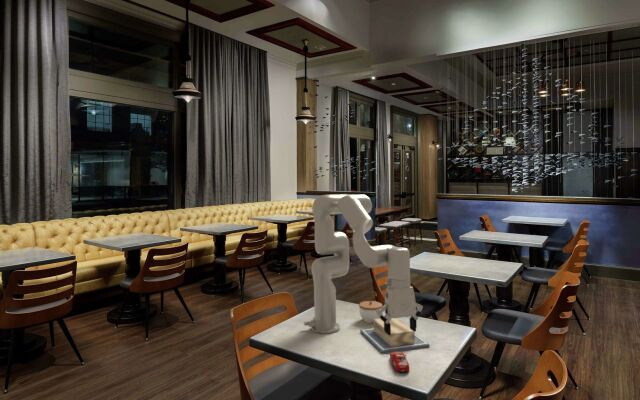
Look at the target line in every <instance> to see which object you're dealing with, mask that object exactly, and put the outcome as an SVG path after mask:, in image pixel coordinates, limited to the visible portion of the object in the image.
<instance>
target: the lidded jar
mask: <svg viewBox="0 0 640 400" xmlns="http://www.w3.org/2000/svg"><path fill="white" fill-rule="evenodd" d="M382 306H383V304H382V303H381V302H379V301H375V300H367V301H366V300H365V301H361V302H360V303H359V309H358V310H359V314H360V317H361V318H362V320H363V321H364V322H365V323H368V324H373V319H380V318H379V316H378V314H377V312H376V311H377V310H378V309H379V308H381V307H382Z"/></svg>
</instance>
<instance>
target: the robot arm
mask: <svg viewBox="0 0 640 400" xmlns="http://www.w3.org/2000/svg"><path fill="white" fill-rule="evenodd" d="M372 209H373V203H372V201H371V198H370V197H369V196H367V195H366V194H364V193H363V194H360V193H359V194H351V193H342V194H341V193H340V194H339V193H338V194H337V193H335V194H334V193H333V194H332V193H331V194H322V195H319V196H317V197H316V198H315V199H314V200H313V204H312V210H311V211H312V216H313V220H314V248H315V252H316V253H317V254H318V255H324V256H323V257H319V258H316V259H315V260H314V261H312V263H311V273H312V274H311V275H312V279H313V296H314V297H313V301H314V303H313V305H314V308H313V309H314V310H313V311H314V317H312V319H310V320H305V321H303V326H308V327H309V328H310V329H311V331H312V332H314V333H316V334H333V333H337V332H338V331H339V330H340V328H341V326H340V323H337V300H336V299H337V298H336V297H337V296H336V294H337V290H336V286H335V284H334V282H333V281H332V279H334V278H341V277H343V276H346V275H347V274H348V272H349V270H350V240H349V239H348V238H349V237H348V236H347V235H346V233H344V232H342V231H335V223H334V222H335V221H334V219H333V218H332V217H331V215H342V217H343V218H344V219H345V222H347V224H348V225H349V227H350V229H351V230H352V231H353V234H352V245H353V250H354V252H355V254H356V255H357V257H358V258H359V260H360V262H361V263H362V264H363V265H364V266H365V267H367V268H368V269H369V268H370V269H375V268H378V267H379V268H380V267H385V266H387V280H385V281H384V285H385V286H387V287H386V291H385V295H384V296H385V298H384V305H382V307H381V308H379V309H378V310H377V311H376V312H377V314H378V316H379V318H380V319H381V320H383V321H384V331H385V333H387V334H388V335H390V334H391V324H390V323H389V322H390V320H391V319H392V318H397V319H400V318H407V317H408V318H409V327H410V329H411V330H413V331H414V332H415V333H416V331H417V327H418V326H417V324H418V323H417V321H418V319H419V317H420V316H421V314H422V311H423V308H424V307H423V305H421V304H419V303H417V302H416V297H415V296H416V295H415V291H414V287H413V285H412V286H411V264H410V263H411V257H410V253H411V252H410V250H409V248H407V247H401V246H395V245H393V244H381V245H379V244H378V245H373V246H371V245H370V243H369V241H367V239H366V236H365V234H367V233H368V232H369V231H370V230H371V229H372V228H373V225H374V221H373V219H372V217H371V216H370V215H369V213H371V212H372ZM325 255H326V256H325ZM327 255H331V256H327ZM383 313H385V314H384V315H383Z"/></svg>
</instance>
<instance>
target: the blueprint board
mask: <svg viewBox="0 0 640 400" xmlns="http://www.w3.org/2000/svg"><path fill="white" fill-rule="evenodd" d="M389 323H390V324H391V334H390V335H388V334H387V333H385V331H384V321H383V320H381V319H373V323H372V324H373V325H372V326H373V328H369V329H360V331H359V332H360V334H362V336H364V338H365V339H366V340H367V341H369V342H370V343H371V344H372V345H373V346H374V347H375V348H376V349H377V350H378V351H379V352H380V353H381V354H382V355H383V354H391V353H392V352H402V351H412V350H417V349H424V348H429V347H430V343H428V342H427V341H426V340H424V339H423V338H421V337H420V336H419V335H417V334H416V331H415V332H414V331H413V330H411V329H410V326H408V325H407V324H405V323H404V322H403V321H401V320H400V319H399V318H392V319H391V320H390V322H389Z"/></svg>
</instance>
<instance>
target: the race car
mask: <svg viewBox="0 0 640 400" xmlns="http://www.w3.org/2000/svg"><path fill="white" fill-rule="evenodd" d="M406 356H407V354H405V353H403V352H402V351H398V352H391V353H389V357H390V362H391V363H392V364H391V365H392V367H393V370H394V371H395V372H397V373H409V372H410V364H409V362H408V360H407V357H406Z"/></svg>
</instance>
